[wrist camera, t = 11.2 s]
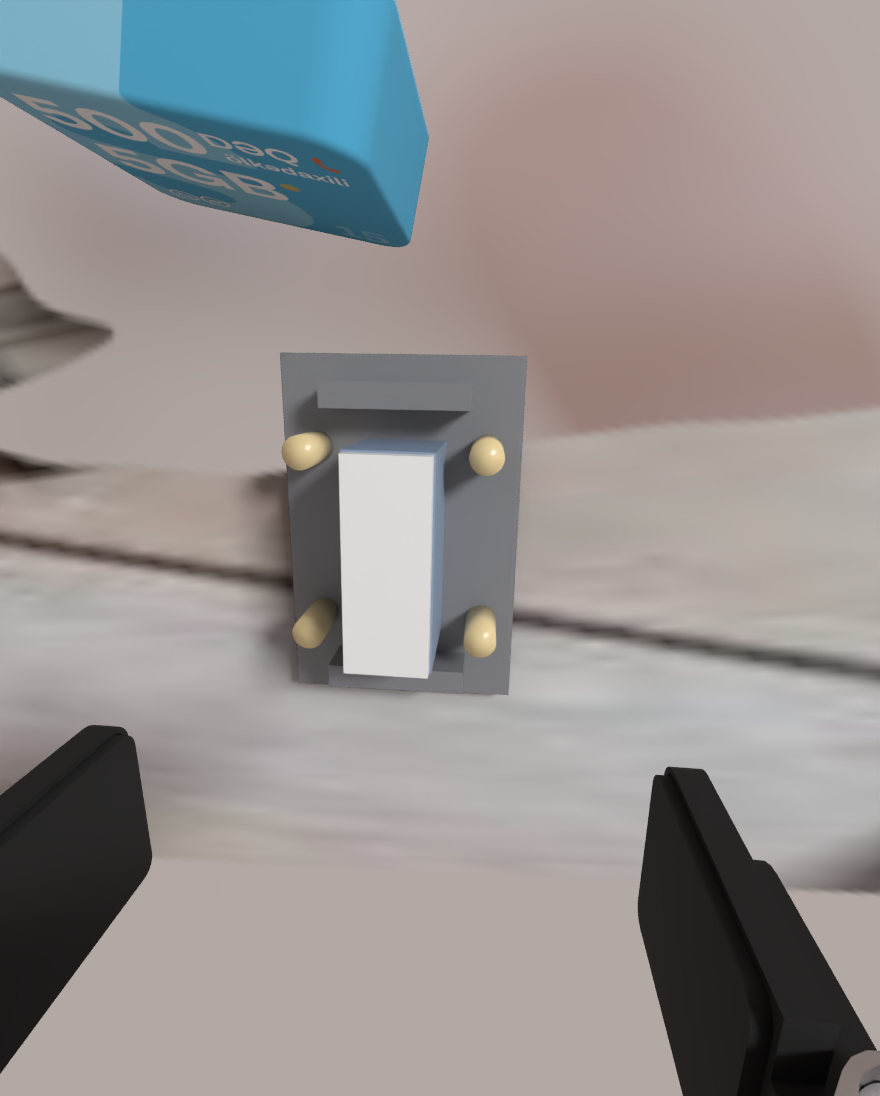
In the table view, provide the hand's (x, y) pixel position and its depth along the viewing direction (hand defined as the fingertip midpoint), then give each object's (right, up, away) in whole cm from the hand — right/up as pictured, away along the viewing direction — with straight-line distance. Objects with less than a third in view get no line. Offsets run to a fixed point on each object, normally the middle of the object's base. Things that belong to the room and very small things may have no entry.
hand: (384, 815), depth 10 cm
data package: (-6, +22, +17) cm, 28 cm away
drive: (-1, +5, +20) cm, 20 cm away
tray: (-1, +6, +21) cm, 21 cm away
